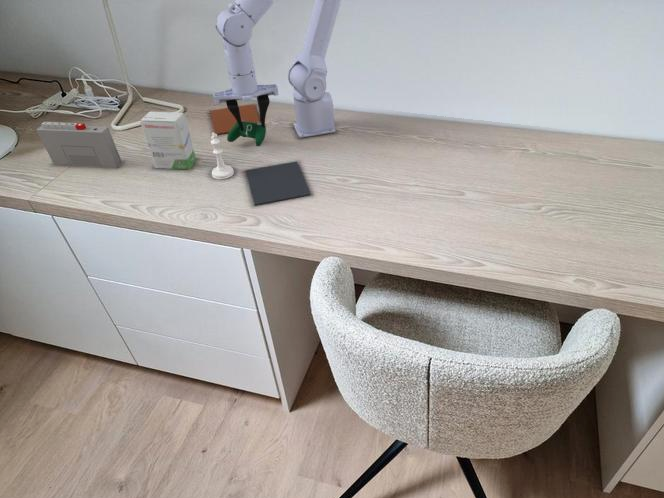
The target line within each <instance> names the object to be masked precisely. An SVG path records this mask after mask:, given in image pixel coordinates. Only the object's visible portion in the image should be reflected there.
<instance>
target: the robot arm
mask: <svg viewBox="0 0 664 498" xmlns="http://www.w3.org/2000/svg"><path fill="white" fill-rule="evenodd" d="M341 2H342V0H315V1H314V3H313V8H312V11H311V15H310V18H309V19H310V20H309V23H308V27H307V31H306V35H305V39H304V43H303V47H302V49H301V51H300V52H299V53H297V55H295V59H294V62H293V64H292V65H291V66H290V67H289V69H288V72H287V80H288V83H289V84H290V85H291V86H292V87H293V92H292V93H293V104H294V113H295V122H293V123H292V125H293V127H294V129H295V131H296V134H297V136H298V138H299V139H303V138H309V137H315V136H320V135H327V134H333V133H336V131H337V130H336V127H335V109H334V102H333V98H332V94H331V93H330V91H329V92H328V91H327V78H326V77H327V74H328V68H327V64H326V59H325V58H326V55H327V52H328V48H329V44H330V41H331V37H332V34H333V31H334V27H335V23H336V20H337V16H338V12H339V9H340V6H341ZM273 5H274V0H234V2H233V3H232V2H230V3H229V4H228V5H227V8H228V9H226V10H223V11H221V12H220V13H219V14H218V16H217V18H216V20H217V21H216V25H215V29H216V31H217V33H218V34H219V35H220V36H221V40H222V45H223V51H224V56H225V61H226V67H227V72H228V75H229V76H228V77H229V81H230V85H231V88H228V89H225V90H222V91H219V92H213V93H212V96H213V100H214V104H215V106H216V105H221V104H222V103H225V104H226V108H228V109H229V111H230V112H231V113H232V114H233V116H234V117H235V119H236V120H237V122H238V124H239V126H240V129H241V131H244V128H243V124H242V121H241V117H240V112H239V103H238V101H241V100H243V101H252V100H253V99H254V98H255V99H256V103H257V106H258V113H259V120H260V122H261V124H262V127H266V116H267V111H268V109H269V106H270V97H269V96H274V97H277V96H279V88H278V85H277V84H276V83H274V84H258V82H257V75H256V69H255V63H254V58H253V52H252V48H251V43H250V40H251V39H252V35H253V28H254V27H255V26H256V25H257V23H259V21H260V20H261V19H262V18H263V17H264V15H265V14H266V13H267V12H268V11H269V9H270V8H271V7H272V6H273Z"/></svg>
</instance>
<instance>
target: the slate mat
mask: <svg viewBox="0 0 664 498" xmlns="http://www.w3.org/2000/svg"><path fill="white" fill-rule="evenodd" d="M244 172H245V175H246V179H247V182H248V183H247V184H248V186H249V190H250V194H251V197H252V200H253V201H252V202H253V204H254V205H253V206H255V207H257V206H263V205H267V204H272V203H276V202H281V201H288V200H292V199H298V198H303V197H307V196H308V197H309V196H311V195H312V194H311V192H310V189H309V187H308V185H307V182H306V180H305V178H304V175H303V173H302V170H301V168H300V166H299V163H298V161H290V162H285V163H280V164H274V165H268V166H262V167H257V168H251V169H245V171H244Z"/></svg>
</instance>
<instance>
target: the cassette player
mask: <svg viewBox="0 0 664 498" xmlns="http://www.w3.org/2000/svg"><path fill="white" fill-rule="evenodd" d="M35 131H36V132H37V135H38V136H39V138H40V140H41V142H42V144H43V146H44V148H45V150H46V152H47V154H48V155H49V158H50V159H51V162H52V164H53V166H65V167H66V166H68V167H70V166H71V167H87V168H106V169H118V168H119V166H120V165H121V164H122V163H123V161H122V158H121V156H120V153H119V151H118V148H117V146H116V143H115V141H114V139H113V135H112V134H111V131H110V128H109V126H95V125H86V123H83V122H82V123H79V122H59V121H58V122H57V121H43V122H42V123H41V124H40V126H39V127H37V129H36V130H35Z"/></svg>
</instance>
